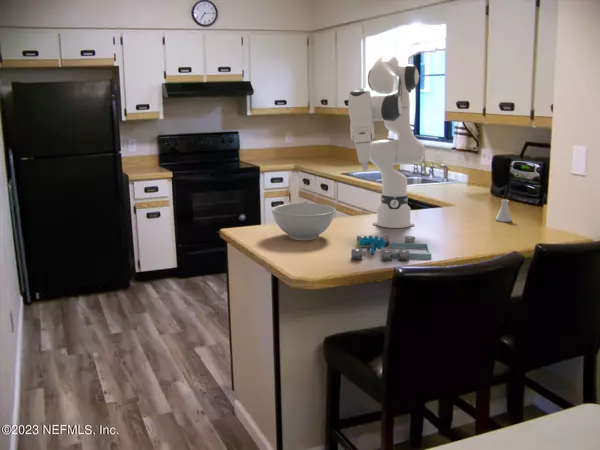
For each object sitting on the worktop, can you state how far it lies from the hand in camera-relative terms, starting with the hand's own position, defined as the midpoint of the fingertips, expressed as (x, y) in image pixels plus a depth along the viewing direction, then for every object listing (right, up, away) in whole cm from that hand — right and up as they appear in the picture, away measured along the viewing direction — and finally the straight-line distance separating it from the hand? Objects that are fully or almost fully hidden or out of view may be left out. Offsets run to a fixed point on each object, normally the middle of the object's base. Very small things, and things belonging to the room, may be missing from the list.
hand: (365, 169), depth 233 cm
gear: (+3, -32, +4) cm, 32 cm away
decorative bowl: (-23, -26, +28) cm, 45 cm away
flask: (+72, -19, +60) cm, 96 cm away
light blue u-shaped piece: (+17, -32, +3) cm, 36 cm away
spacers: (+8, -31, +4) cm, 33 cm away
